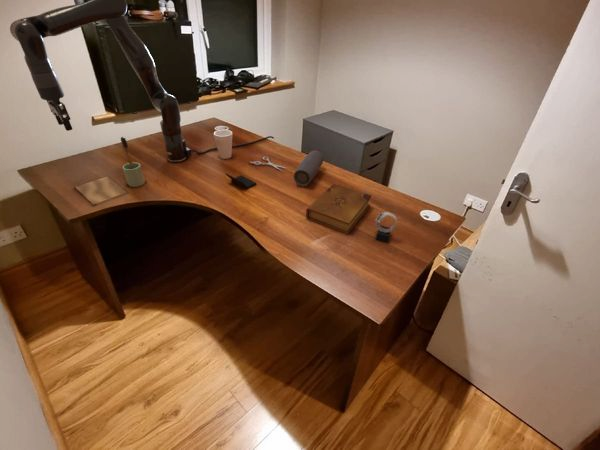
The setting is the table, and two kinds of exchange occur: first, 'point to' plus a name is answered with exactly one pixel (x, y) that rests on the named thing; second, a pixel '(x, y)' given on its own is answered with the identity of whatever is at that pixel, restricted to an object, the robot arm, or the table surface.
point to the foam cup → (224, 143)
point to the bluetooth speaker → (308, 168)
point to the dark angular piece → (242, 181)
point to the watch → (382, 230)
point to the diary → (338, 208)
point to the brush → (127, 152)
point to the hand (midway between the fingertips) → (65, 127)
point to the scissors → (266, 163)
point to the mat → (100, 190)
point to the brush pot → (134, 174)
